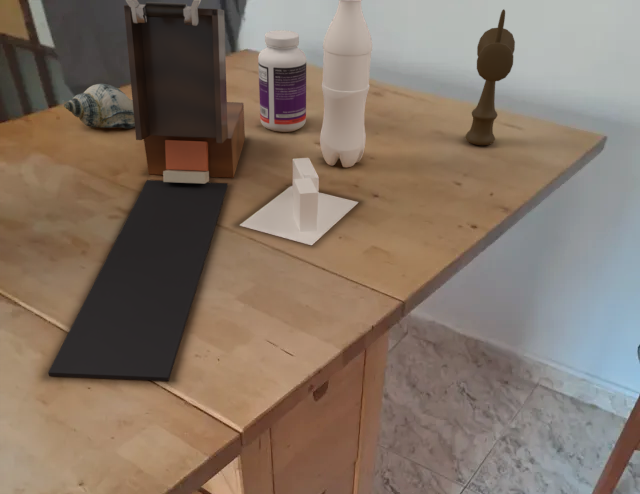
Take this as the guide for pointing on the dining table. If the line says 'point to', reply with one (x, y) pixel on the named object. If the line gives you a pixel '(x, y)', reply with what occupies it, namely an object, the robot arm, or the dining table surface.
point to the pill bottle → (282, 82)
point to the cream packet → (186, 176)
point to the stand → (219, 154)
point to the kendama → (490, 79)
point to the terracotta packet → (186, 155)
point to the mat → (144, 286)
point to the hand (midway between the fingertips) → (166, 23)
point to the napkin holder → (300, 208)
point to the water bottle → (345, 84)
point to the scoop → (178, 72)
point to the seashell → (103, 107)
